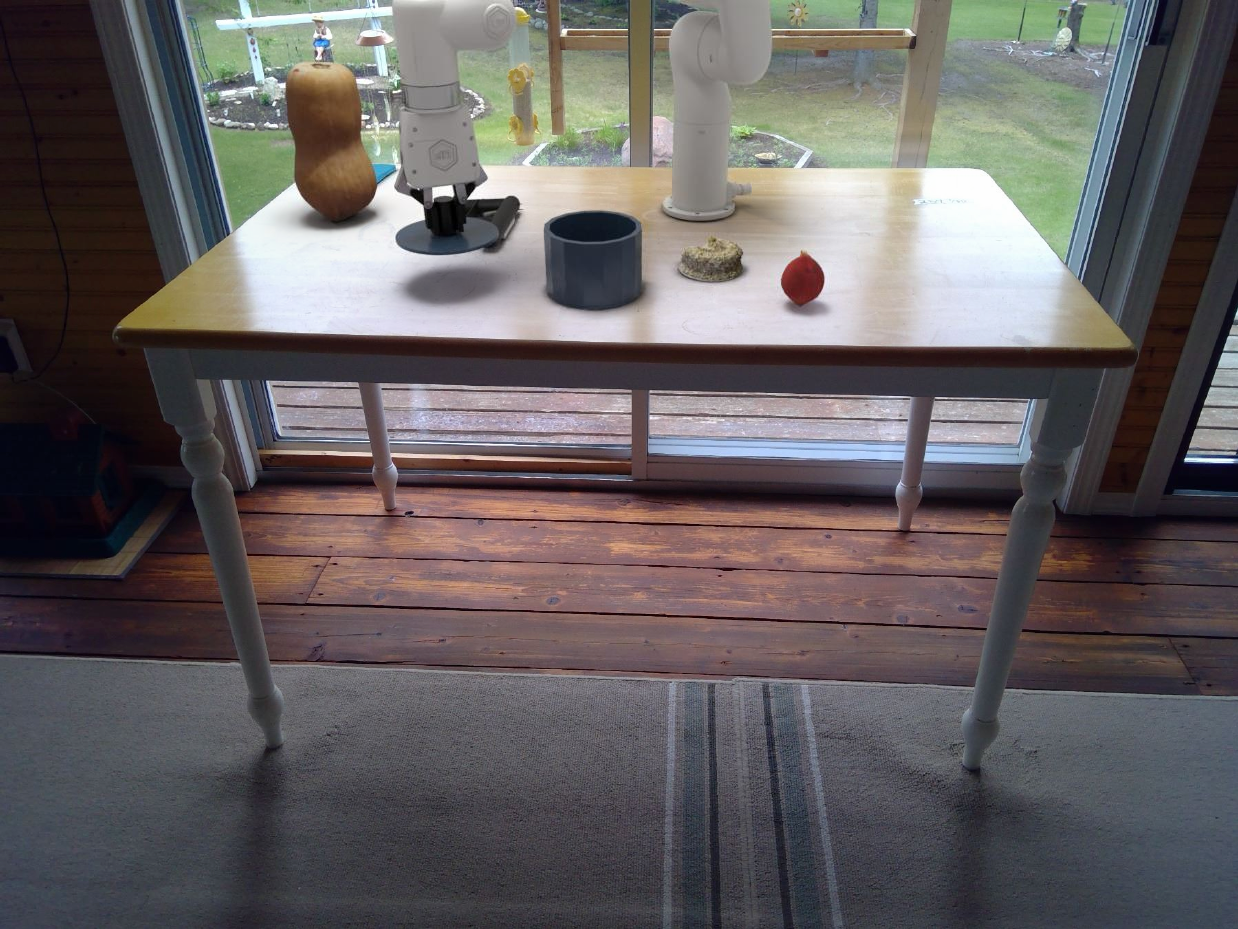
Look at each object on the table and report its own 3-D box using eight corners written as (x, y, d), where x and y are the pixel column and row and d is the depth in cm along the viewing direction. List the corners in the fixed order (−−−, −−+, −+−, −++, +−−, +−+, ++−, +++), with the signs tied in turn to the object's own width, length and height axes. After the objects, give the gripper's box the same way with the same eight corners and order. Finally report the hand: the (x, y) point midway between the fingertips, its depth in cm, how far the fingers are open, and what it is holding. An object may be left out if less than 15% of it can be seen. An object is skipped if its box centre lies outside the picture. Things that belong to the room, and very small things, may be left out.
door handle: (403, 235, 148) (502, 232, 146) (437, 195, 165) (526, 192, 163) (407, 255, 150) (505, 252, 148) (440, 214, 167) (528, 211, 165)
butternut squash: (393, 219, 162) (370, 64, 148) (317, 236, 155) (286, 75, 142) (362, 199, 171) (338, 51, 157) (290, 213, 165) (258, 61, 151)
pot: (618, 266, 143) (618, 205, 138) (657, 299, 133) (658, 234, 128) (534, 281, 139) (530, 218, 133) (567, 316, 128) (564, 249, 123)
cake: (756, 270, 143) (760, 237, 139) (716, 291, 137) (720, 257, 133) (704, 250, 148) (707, 217, 144) (664, 269, 142) (666, 236, 138)
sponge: (341, 181, 177) (369, 179, 176) (369, 163, 187) (395, 161, 186) (344, 189, 178) (372, 187, 177) (371, 171, 188) (397, 169, 186)
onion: (824, 300, 132) (830, 245, 128) (817, 316, 128) (824, 260, 123) (783, 295, 134) (788, 241, 129) (775, 311, 129) (780, 255, 125)
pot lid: (482, 218, 143) (478, 178, 139) (512, 249, 131) (509, 207, 128) (386, 232, 138) (380, 190, 134) (409, 266, 127) (403, 221, 123)
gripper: (375, 108, 118) (395, 248, 128) (499, 95, 124) (509, 231, 134) (364, 95, 124) (384, 231, 134) (483, 84, 129) (493, 215, 139)
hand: (446, 229), depth 134 cm, fingers closed on pot lid, 2 cm apart
